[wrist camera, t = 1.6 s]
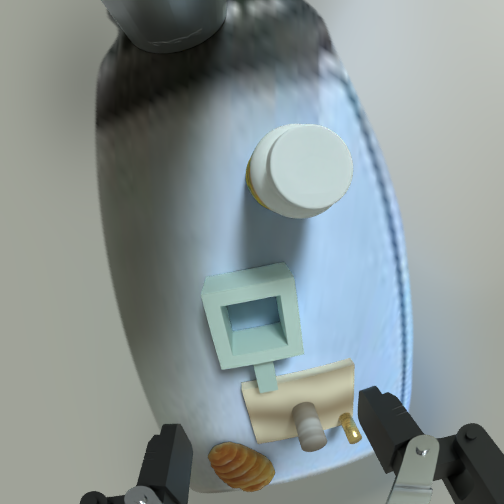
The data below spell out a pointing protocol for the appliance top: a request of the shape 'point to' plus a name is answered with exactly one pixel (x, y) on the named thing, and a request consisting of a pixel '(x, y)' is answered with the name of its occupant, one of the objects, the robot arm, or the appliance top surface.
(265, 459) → the pastry
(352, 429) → the pin
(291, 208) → the supplement bottle
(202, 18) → the robot arm
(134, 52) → the appliance top surface
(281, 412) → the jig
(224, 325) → the pale green hollow block
